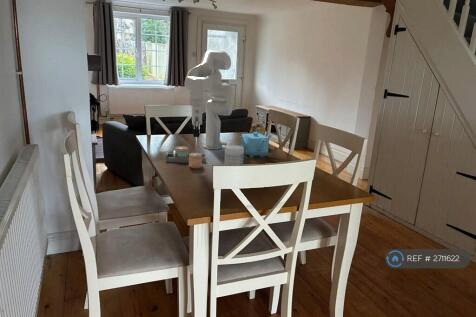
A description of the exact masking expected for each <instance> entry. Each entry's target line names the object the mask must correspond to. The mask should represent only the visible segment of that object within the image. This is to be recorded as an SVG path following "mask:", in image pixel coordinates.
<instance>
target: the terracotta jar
mask: <svg viewBox="0 0 476 317" xmlns="http://www.w3.org/2000/svg"><path fill="white" fill-rule="evenodd" d="M188 154H189V162H188V167H189V168H192V169H200V168H202V167H203V162H202V154H203V153H201V152H200V153H199V152H191V153H188Z"/></svg>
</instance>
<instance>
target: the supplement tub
mask: <svg viewBox="0 0 476 317" xmlns="http://www.w3.org/2000/svg"><path fill="white" fill-rule="evenodd" d="M244 155H245V152H244V148H243V147H242V145H236V144H235V145H232V144H231V145H225V149H224V166H225V165H243V166H244Z"/></svg>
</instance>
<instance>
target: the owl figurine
mask: <svg viewBox="0 0 476 317" xmlns="http://www.w3.org/2000/svg"><path fill="white" fill-rule="evenodd" d="M253 132H258V133H259V134H262V135H264V136H266V128H265V127H264V125H263V123H262V122H261V121H258V122H256V123H253V124H252V125H251V128H250V130H249V133H248V134H253Z"/></svg>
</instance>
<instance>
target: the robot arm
mask: <svg viewBox="0 0 476 317" xmlns="http://www.w3.org/2000/svg"><path fill="white" fill-rule="evenodd" d="M231 67H232V59H231V56H230V55H229V54H228V53H227V52H226V51H224V50H207V51H205V52H204V53H203V55H202V58H201V59H200V63H199V64H198V65H196V66H195V67H192V68H191V69H189V70H188V72H187V73H186V74H187V75H186V76H185V80H184V83H183V84H184V88H185V89H186V91H189V106H191V121H192V123H191V124H192V134H193V135H192V136H193V138H200V134H201V133H200V132H201V131H200V130H201V129H200V126H202V125H203V107H204V106H205V107H204V109H205V116H206V118H205V144H203V145H202V147H203V148H204V149H206V150H221V149H223V146H228V142H227V141H226V142H225V141H221V123H222V122H221V120H220V117H219V116H231V114H232V111H233V100H234V99H233V94H234V93H233V92H234V90H233V85H232V84H230V83H228V82H227V83H225V82H224V83H222V73H221V71H220V70H222V71H223V70H224V71H228V70H230V68H231ZM205 93H207V94H208V97H210V98H214V99H209V100H206V102H205ZM221 99H223V100H221Z"/></svg>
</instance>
